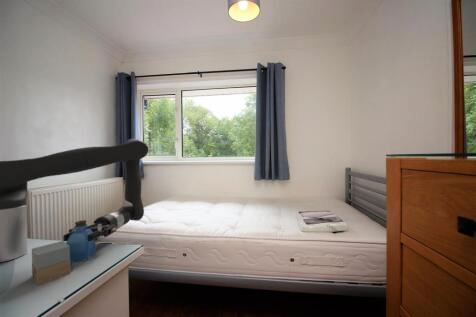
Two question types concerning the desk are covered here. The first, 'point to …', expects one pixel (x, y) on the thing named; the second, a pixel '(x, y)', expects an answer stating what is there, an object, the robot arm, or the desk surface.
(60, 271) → the tower base block
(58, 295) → the desk surface
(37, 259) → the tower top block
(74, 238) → the perfume bottle
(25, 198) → the robot arm
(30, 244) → the desk surface
